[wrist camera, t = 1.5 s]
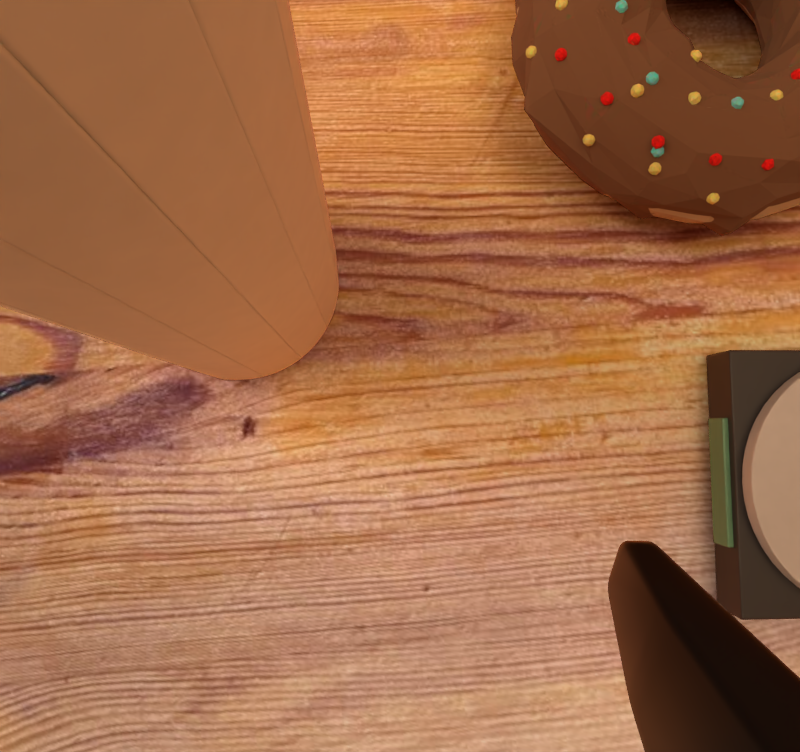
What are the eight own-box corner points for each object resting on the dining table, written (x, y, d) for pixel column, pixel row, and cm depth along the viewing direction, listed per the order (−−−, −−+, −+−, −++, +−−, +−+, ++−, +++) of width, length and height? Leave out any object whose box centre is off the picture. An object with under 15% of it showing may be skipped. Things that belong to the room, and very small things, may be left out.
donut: (757, -152, 26) (849, -290, 21) (910, 161, 25) (1044, 95, 20) (425, -26, 25) (439, -140, 20) (574, 305, 24) (627, 272, 19)
